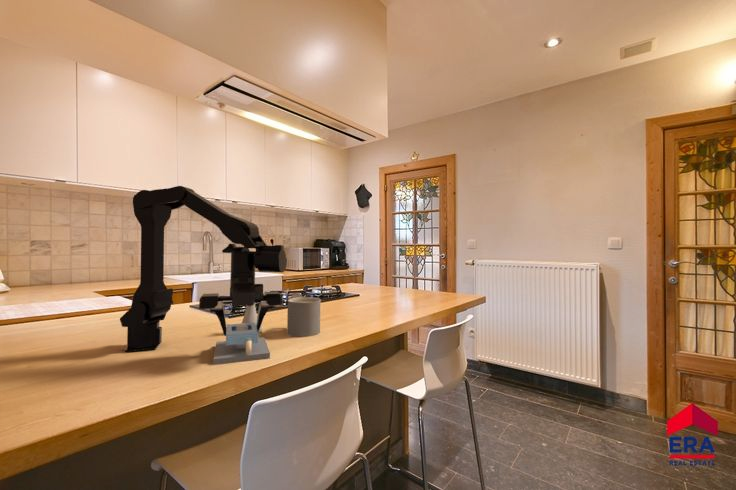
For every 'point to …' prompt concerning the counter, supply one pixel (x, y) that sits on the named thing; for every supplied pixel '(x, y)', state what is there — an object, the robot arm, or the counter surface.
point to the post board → (241, 350)
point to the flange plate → (241, 334)
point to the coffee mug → (303, 317)
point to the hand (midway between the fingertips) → (241, 334)
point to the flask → (251, 315)
